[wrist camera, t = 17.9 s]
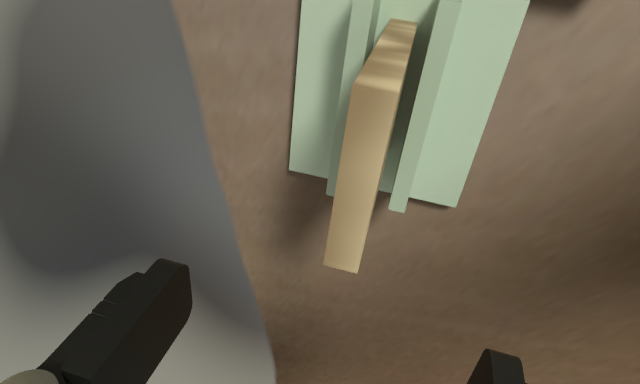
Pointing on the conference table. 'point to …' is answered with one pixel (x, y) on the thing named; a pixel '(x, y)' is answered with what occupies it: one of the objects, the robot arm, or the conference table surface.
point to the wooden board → (367, 143)
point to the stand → (404, 88)
